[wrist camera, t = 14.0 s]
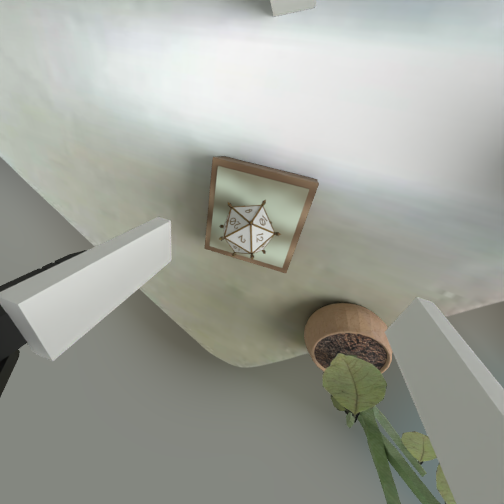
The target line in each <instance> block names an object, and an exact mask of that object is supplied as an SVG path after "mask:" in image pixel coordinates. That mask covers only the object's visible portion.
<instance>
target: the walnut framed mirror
mask: <svg viewBox="0 0 504 504" xmlns="http://www.w3.org/2000/svg"><path fill="white" fill-rule="evenodd" d="M318 185H319V183H318V181H317V179H314V178H310V177H306V176H302V175H298V174H294V173H290V172H286V171H282V170H278V169H274V168H270V167H266V166H262V165H258V164H254V163H250V162H246V161H242V160H238V159H234V158H230V157H226V156H221V157H213V161H212V172H211V183H210V194H209V205H208V217H207V228H206V239H205V249H208V250H211V251H214V252H218V253H221V254H224V255H227V256H231V257H232V254H233V253H234V251H233V250H232V248H231V247H230V246H229V244H228V243H227V241H226V240H225V239H224V240H222V241H221V240H219V238H220V237H222V236H223V237H224V228H220V227H219V226H220V225H224V224H225V221H226V219H227V216H228V214H229V211H230V207H229V206H228V202H229V203H231V204H232V207H234V206H244V205H245V206H250V205H261V204H262V202H263V201H264V200H266V203H265V205H264V208H265V211H266V213H267V215H268V217H269V220H270V221H271V222H272V227H273V229H274V231H275V232H279V233H280V234H281V235H279V236H276V235H274V236H273V238H272V239H271V240H270V242H269V243H268V244H267V246H266V247H265V248H264V250H265V251H266V254H263V252H262V251H259V252H257V253H254V254H253V255H254V258H253V260H252V259H251V258H250V255H251V254H242V253H236V255H235V256H234V258H237V259H240V260H244V261H247V262H250V263H254V264H257V265H260V266H263V267H267V268H270V269H273V270H277V271H280V272H283V273H286V272H287V270H288V267H289V264H290V261H291V259H292V256H293V253H294V251H295V248H296V245H297V242H298V240H299V237H300V234H301V231H302V229H303V226H304V223H305V220H306V218H307V215H308V212H309V209H310V207H311V204H312V201H313V199H314V196H315V193H316V190H317V188H318Z"/></svg>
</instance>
